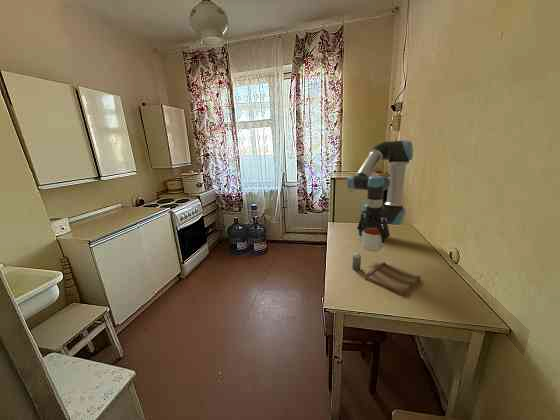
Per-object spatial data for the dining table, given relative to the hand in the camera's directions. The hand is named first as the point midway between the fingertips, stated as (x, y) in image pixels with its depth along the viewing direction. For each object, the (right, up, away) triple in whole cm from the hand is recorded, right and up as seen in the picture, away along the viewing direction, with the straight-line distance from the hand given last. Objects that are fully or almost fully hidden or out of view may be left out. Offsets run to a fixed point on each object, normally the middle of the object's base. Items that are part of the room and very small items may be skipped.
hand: (371, 244), depth 123 cm
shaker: (-10, -12, -4) cm, 16 cm away
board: (+4, -14, -15) cm, 21 cm away
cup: (0, -2, +1) cm, 2 cm away
